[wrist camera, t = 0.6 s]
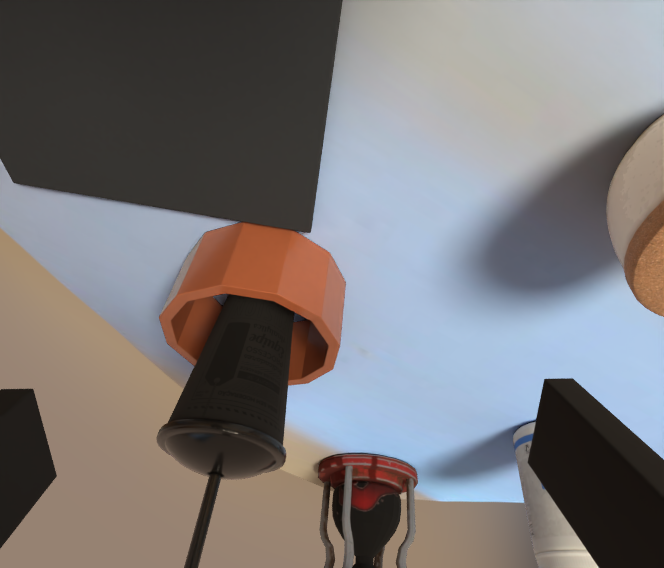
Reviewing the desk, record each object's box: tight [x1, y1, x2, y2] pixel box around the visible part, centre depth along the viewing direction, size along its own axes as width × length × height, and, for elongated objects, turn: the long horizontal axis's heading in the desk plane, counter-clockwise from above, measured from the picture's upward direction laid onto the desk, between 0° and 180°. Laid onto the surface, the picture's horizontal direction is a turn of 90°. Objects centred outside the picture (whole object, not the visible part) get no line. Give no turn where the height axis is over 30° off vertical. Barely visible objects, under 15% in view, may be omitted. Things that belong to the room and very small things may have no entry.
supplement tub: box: [513, 422, 599, 568], centre depth 44 cm, size 10×10×15 cm
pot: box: [159, 222, 346, 385], centre depth 31 cm, size 13×13×6 cm
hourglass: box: [318, 453, 418, 568], centre depth 58 cm, size 16×16×25 cm
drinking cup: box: [157, 294, 294, 568], centre depth 26 cm, size 8×8×20 cm
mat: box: [0, 0, 342, 233], centre depth 22 cm, size 15×20×1 cm
